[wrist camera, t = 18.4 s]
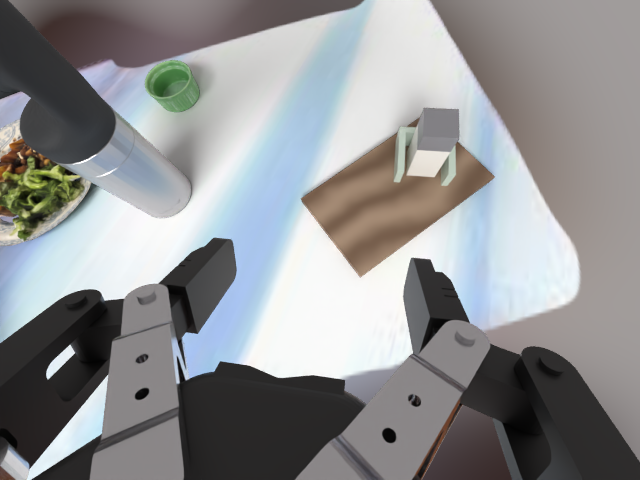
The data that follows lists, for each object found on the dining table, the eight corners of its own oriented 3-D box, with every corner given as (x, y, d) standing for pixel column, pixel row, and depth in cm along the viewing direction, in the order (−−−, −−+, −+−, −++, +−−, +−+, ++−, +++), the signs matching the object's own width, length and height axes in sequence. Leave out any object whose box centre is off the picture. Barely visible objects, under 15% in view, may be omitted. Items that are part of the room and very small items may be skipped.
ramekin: (150, 106, 56) (134, 89, 52) (176, 73, 58) (162, 54, 53) (186, 121, 54) (172, 104, 50) (210, 86, 56) (200, 67, 52)
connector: (434, 177, 45) (459, 138, 36) (406, 175, 46) (423, 136, 36) (434, 153, 46) (458, 109, 37) (407, 151, 47) (423, 107, 37)
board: (301, 201, 47) (300, 198, 46) (424, 117, 50) (426, 112, 49) (360, 277, 43) (360, 276, 42) (491, 180, 45) (494, 177, 44)
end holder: (447, 185, 45) (455, 174, 41) (393, 182, 45) (397, 170, 42) (447, 143, 47) (455, 129, 43) (395, 140, 48) (399, 126, 44)
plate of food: (97, 237, 48) (65, 224, 43) (-54, 259, 49) (-106, 249, 43) (116, 111, 57) (91, 86, 52) (-12, 131, 58) (-51, 109, 52)
